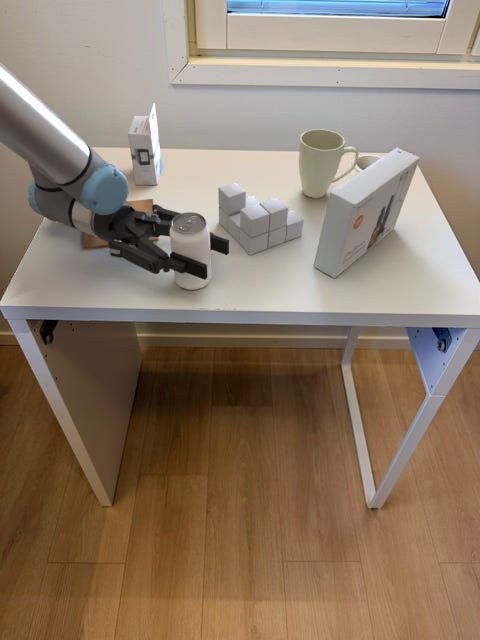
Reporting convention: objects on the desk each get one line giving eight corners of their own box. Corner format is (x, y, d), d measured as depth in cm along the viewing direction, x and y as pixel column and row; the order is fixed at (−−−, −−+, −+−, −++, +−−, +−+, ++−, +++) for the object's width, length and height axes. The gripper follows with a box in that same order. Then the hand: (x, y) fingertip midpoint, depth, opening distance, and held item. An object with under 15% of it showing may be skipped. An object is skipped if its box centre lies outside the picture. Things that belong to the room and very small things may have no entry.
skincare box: (336, 281, 83) (355, 204, 71) (312, 267, 85) (325, 190, 74) (397, 229, 93) (421, 155, 82) (373, 218, 96) (394, 144, 84)
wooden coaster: (83, 248, 88) (83, 247, 87) (85, 206, 97) (84, 205, 97) (158, 240, 90) (158, 239, 89) (152, 199, 99) (152, 198, 99)
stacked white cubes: (301, 236, 91) (307, 201, 86) (249, 255, 87) (251, 220, 81) (268, 205, 98) (270, 171, 92) (218, 222, 94) (218, 187, 88)
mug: (317, 210, 97) (326, 157, 89) (285, 189, 103) (290, 137, 94) (352, 193, 102) (364, 140, 93) (320, 174, 107) (328, 122, 98)
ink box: (141, 165, 108) (131, 100, 97) (162, 165, 108) (155, 101, 97) (135, 185, 103) (124, 118, 92) (157, 185, 103) (149, 119, 92)
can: (218, 275, 83) (217, 219, 74) (197, 296, 80) (193, 240, 71) (189, 262, 86) (184, 206, 77) (167, 282, 82) (159, 225, 73)
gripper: (141, 209, 92) (244, 245, 85) (73, 265, 80) (186, 313, 73) (135, 174, 86) (245, 210, 79) (61, 229, 75) (183, 277, 68)
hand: (217, 259), depth 76 cm, fingers closed on can, 6 cm apart
